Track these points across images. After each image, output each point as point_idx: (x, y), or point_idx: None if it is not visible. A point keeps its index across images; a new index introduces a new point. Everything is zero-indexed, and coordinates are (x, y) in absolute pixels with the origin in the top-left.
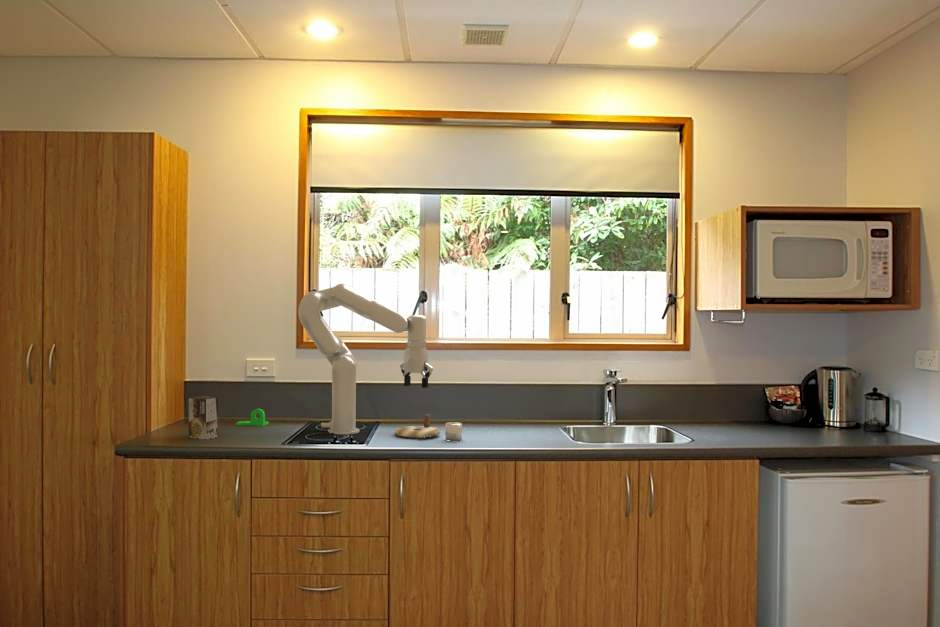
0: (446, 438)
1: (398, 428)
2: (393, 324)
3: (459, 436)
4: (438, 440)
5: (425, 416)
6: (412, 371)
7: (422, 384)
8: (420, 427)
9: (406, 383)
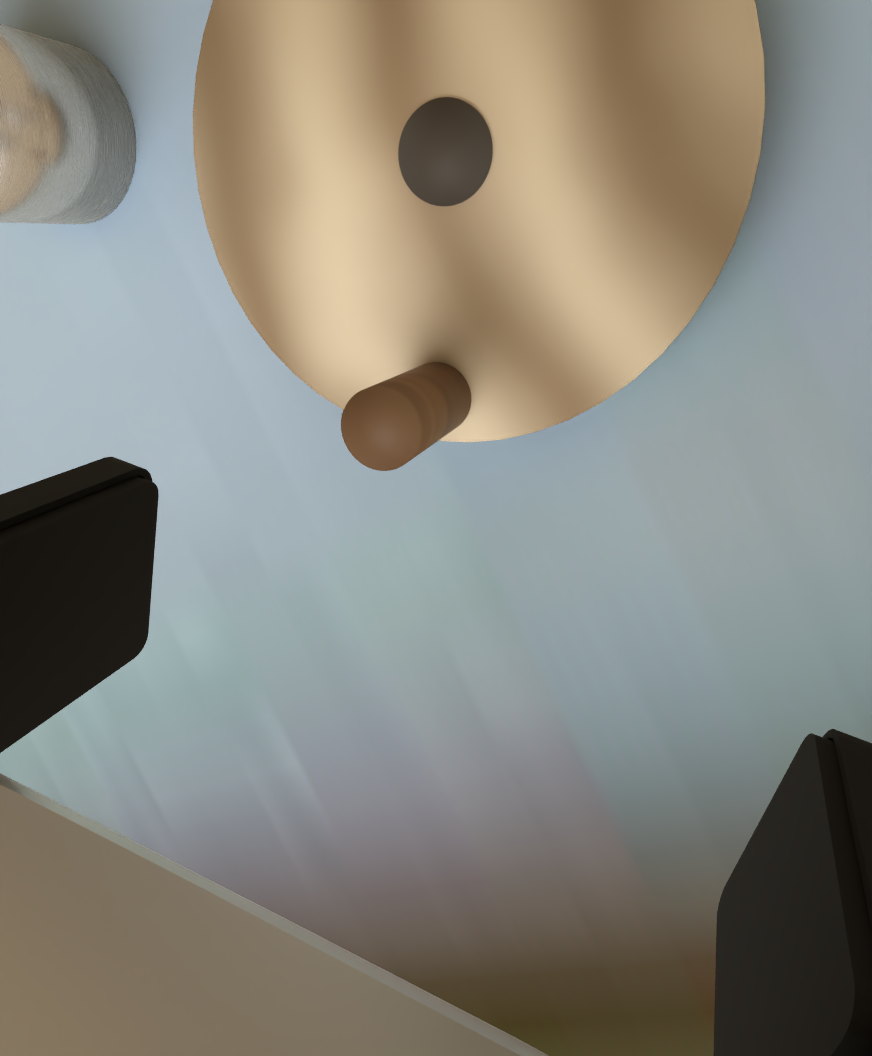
0: (75, 51)
1: (733, 101)
2: None
3: None
4: (162, 32)
5: (387, 383)
6: (17, 833)
7: (60, 480)
8: (488, 330)
9: (801, 810)
